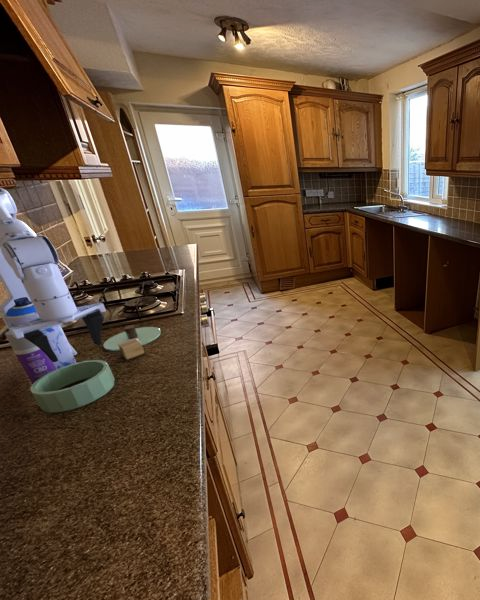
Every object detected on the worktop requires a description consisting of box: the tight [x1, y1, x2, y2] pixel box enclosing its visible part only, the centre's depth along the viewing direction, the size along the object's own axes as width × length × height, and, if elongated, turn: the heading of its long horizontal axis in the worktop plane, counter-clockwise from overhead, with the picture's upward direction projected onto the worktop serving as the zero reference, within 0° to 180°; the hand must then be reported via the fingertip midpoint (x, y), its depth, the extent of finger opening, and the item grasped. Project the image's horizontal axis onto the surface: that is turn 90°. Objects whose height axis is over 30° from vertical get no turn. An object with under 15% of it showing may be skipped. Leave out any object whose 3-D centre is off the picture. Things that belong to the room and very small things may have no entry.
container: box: [4, 330, 57, 386], centre depth 74 cm, size 5×5×15 cm
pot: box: [29, 359, 116, 414], centre depth 73 cm, size 13×13×5 cm
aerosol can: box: [4, 297, 77, 369], centre depth 79 cm, size 8×8×20 cm
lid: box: [102, 324, 162, 352], centre depth 95 cm, size 14×14×5 cm
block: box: [118, 338, 145, 360], centre depth 88 cm, size 4×4×4 cm
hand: (77, 351), depth 72 cm, fingers open, 7 cm apart
